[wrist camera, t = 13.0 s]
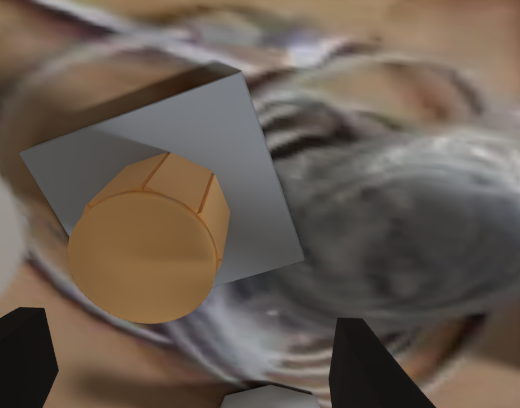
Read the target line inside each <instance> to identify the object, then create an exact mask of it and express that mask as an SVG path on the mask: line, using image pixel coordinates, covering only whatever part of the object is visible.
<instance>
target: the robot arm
mask: <svg viewBox="0 0 520 408" xmlns="http://www.w3.org/2000/svg"><path fill="white" fill-rule="evenodd" d="M58 371H59V370H58V365H57V361H56V357H55V352H54V348H53V344H52V339H51V335H50V331H49V326H48V322H47V318H46V313H45V309H44V308H30V307H19V308H17V309H15V310H13V311H12V312H10V313H8V314H6V315H5V316H3V317H1V318H0V408H42V407H43V405H44V403H45V401H46V399H47V397H48V394H49V392H50V390H51V387H52V385H53V383H54V380H55V378H56V376H57V373H58ZM329 386H330V395H331V403H332V408H436V407H435V406H434V405H433V403H432V402H431V401H430V400H429V399H428V398H427V397H426V396H425V395H424V393H423V392H422V391H421V390H420V389H419V388H418V386H417V385H416V384H415V383H414V382H413V381H412V379H411V378H410V377H409V376H408V375H407V374H406V372H405V371H404V370H403V369H402V368H401V366H400V365H399V364H398V363H397V362H396V360H395V359H394V358H393V357H392V355H391V354H390V353H389V352H388V350H387V349H386V348H385V347H384V345H383V344H382V343H381V341H380V340H379V339H378V338H377V336H376V335H375V334H374V332H373V331H372V330H371V329H370V327H369V326H368V325H367V323H366V322H365V321H364V320H363V319H359V318H337V325H336V332H335V339H334V346H333V353H332V360H331V367H330V374H329Z"/></svg>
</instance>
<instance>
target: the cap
mask: <svg viewBox="0 0 520 408" xmlns="http://www.w3.org/2000/svg"><path fill="white" fill-rule="evenodd" d="M211 174H212V171H211V170H209V169H207V168H204V167H202V166H200V165H198V164H196V163H193V162H191V161H189V160H187V159H185V158H183V157H180V156H178V155H176V154H174V153H172V152H171V153H170V154H169V155H168V152H166V153H163V154H160V155H157V156H154V157H151V158H148V159H145V160H142V161H139V162H136V163H133V164H131V165H128V166H126V167H125V168H124V169H123V170H122V171H121V172H120V173H119V174H118V175H117V176H116V177H115V178H114V179H113V180H111V181H110V182H109V183H108V184H107V185H106V186H105V187H104V188H103V189H102V190H101V191H100V192H99V193H98V194H97V195H96V196H95V197H94V198H93V199H92V200H91V201H90V202H89V203H88V204H87V205H86V206H85V209H84V212H83V215H82V218H81V219H80V220H79V221H78V222H77V224H76V225H75V227H74V229H73V231H72V233H71V235H70V238H69V242H68V251H67V255H68V263H69V268H70V271H71V274H72V276H73V278H74V280H75V282H76V284H77V285H78V287H79V288H80V290H81V291H82V292H83V293H84V294H85V296H86V297H87V298H88V299H89V300H90V301H92V302H93V303H94V304H95V305H96V306H98V307H99V308H101V309H102V310H104V311H106V312H108V313H109V314H111V315H114V316H116V317H118V318H121V319H124V320H128V321H132V322H137V323H163V322H168V321H172V320H175V319H178V318H181V317H183V316H185V315H187V314H189V313H190V312H192V311H193V310H195V309H196V308H197V307H198V306H199V305H200V304H201V303H202V302H203V301H204V300H205V299H206V297H207V295H208V294H209V292H210V290H211V288H212V286H213V282H214V278H215V275H216V273H217V271H218V269H219V267H220V265H221V263H222V260H223V254H224V248H225V242H226V237H227V231H228V225H229V219H230V210H229V207H228V205H227V202H226V200H225V197H224V195H223V192H222V190H221V188H220V185H219V183H218V180H217V178H216V175H215V174H213V175H211Z"/></svg>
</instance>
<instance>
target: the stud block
mask: <svg viewBox="0 0 520 408" xmlns="http://www.w3.org/2000/svg"><path fill="white" fill-rule="evenodd" d="M166 152H168V155H169V154H170V153H171V152H172V153H174V154H176V155H178V156H180V157H183V158H185V159H187V160H189V161H191V162H193V163H196V164H198V165H200V166H202V167H204V168H207V169H209V170H211V171H212V174H211V175H213V174H215V175H216V178H217V180H218V183H219V185H220V188H221V190H222V192H223V195H224V197H225V200H226V202H227V205H228V207H229V210H230V219H229V225H228V231H227V237H226V242H225V248H224V254H223V260H222V263H221V265H220V267H219V269H218V271H217V273H216V275H215V278H214V282H213V286H212V287H215V286H218V285H222V284H225V283H229V282H232V281H235V280H239V279H242V278H246V277H249V276H253V275H256V274H260V273H263V272H267V271H270V270H274V269H277V268H281V267H284V266H288V265H291V264H295V263H298V262H302V261H305V258H304V253H303V249H302V246H301V243H300V240H299V237H298V234H297V231H296V228H295V225H294V222H293V220H292V217H291V214H290V211H289V208H288V205H287V202H286V199H285V196H284V193H283V190H282V187H281V184H280V181H279V178H278V176H277V173H276V170H275V167H274V164H273V161H272V158H271V155H270V152H269V149H268V146H267V143H266V140H265V137H264V134H263V132H262V129H261V126H260V123H259V120H258V117H257V114H256V111H255V108H254V105H253V102H252V99H251V96H250V93H249V90H248V88H247V85H246V82H245V79H244V76H243V73H242V71H239V72H236V73H234V74H231V75H228V76H225V77H223V78H220V79H217V80H214V81H212V82H209V83H206V84H203V85H201V86H198V87H195V88H192V89H189V90H187V91H184V92H181V93H178V94H176V95H173V96H170V97H167V98H165V99H162V100H159V101H156V102H154V103H151V104H148V105H145V106H143V107H140V108H137V109H134V110H131V111H129V112H126V113H123V114H120V115H118V116H115V117H112V118H109V119H107V120H104V121H101V122H98V123H96V124H93V125H90V126H87V127H84V128H82V129H79V130H76V131H73V132H71V133H68V134H65V135H62V136H60V137H57V138H54V139H51V140H49V141H46V142H43V143H40V144H37V145H35V146H32V147H30V148H28V149H26V150H23V151H21V152H19V155H20V156H21V158H22V160H23V161H24V163H25V165H26V166H27V168H28V170H29V171H30V173H31V174H32V176H33V178H34V179H35V181H36V183H37V184H38V186H39V188H40V189H41V191H42V193H43V194H44V196H45V197H46V199H47V201H48V202H49V204H50V206H51V207H52V209H53V211H54V212H55V214H56V216H57V217H58V219H59V220H60V222H61V224H62V225H63V227H64V229H65V230H66V232H67V234H68V235H69V237H70V235H71V233H72V231H73V229H74V227H75V225H76V224H77V222H78V221H79V220H80V219H81V218H82V215H83V212H84V209H85V206H86V205H87V204H88V203H89V202H90V201H91V200H92V199H93V198H94V197H95V196H96V195H97V194H98V193H99V192H100V191H101V190H102V189H103V188H104V187H105V186H106V185H107V184H108V183H109V182H110V181H111V180H113V179H114V178H115V177H116V176H117V175H118V174H119V173H120V172H121V171H122V170H123V169H124V168H125V167H126V166H128V165H131V164H133V163H136V162H139V161H142V160H145V159H148V158H151V157H154V156H157V155H160V154H163V153H166Z"/></svg>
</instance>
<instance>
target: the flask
mask: <svg viewBox="0 0 520 408" xmlns="http://www.w3.org/2000/svg"><path fill="white" fill-rule="evenodd" d="M220 408H320V406H319V404H318V401H317V398H316V396H313V395H309V394H305V393H301V392H297V391H293V390H289V389H285V388H281V387H277V386H273V385H268V386H264V387H260V388H255V389H251V390H247V391H243V392H239V393H235V394H230V395H226V396H225V397H224V400H223V402H222V404H221V407H220Z"/></svg>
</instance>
